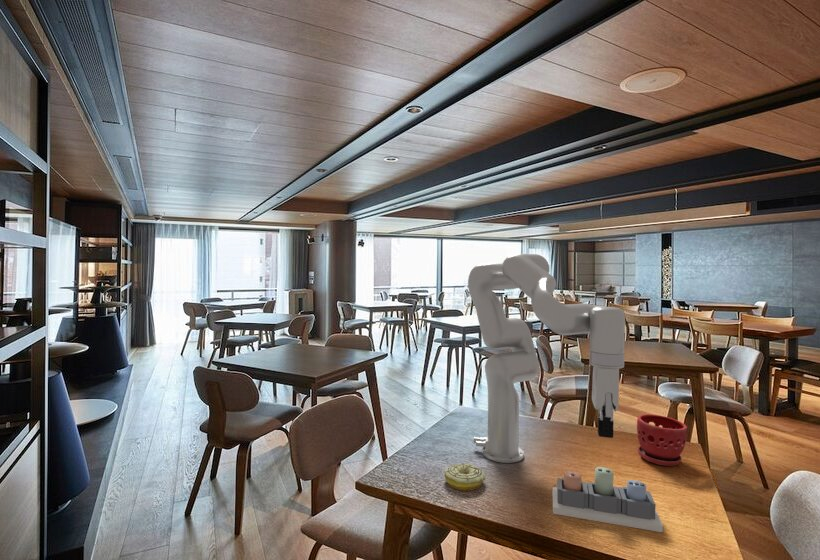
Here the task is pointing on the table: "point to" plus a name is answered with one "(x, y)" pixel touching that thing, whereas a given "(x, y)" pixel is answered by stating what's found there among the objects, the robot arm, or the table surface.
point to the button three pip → (636, 490)
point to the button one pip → (572, 481)
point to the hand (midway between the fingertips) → (605, 435)
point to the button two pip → (603, 481)
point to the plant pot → (661, 439)
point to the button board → (606, 506)
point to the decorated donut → (464, 476)
